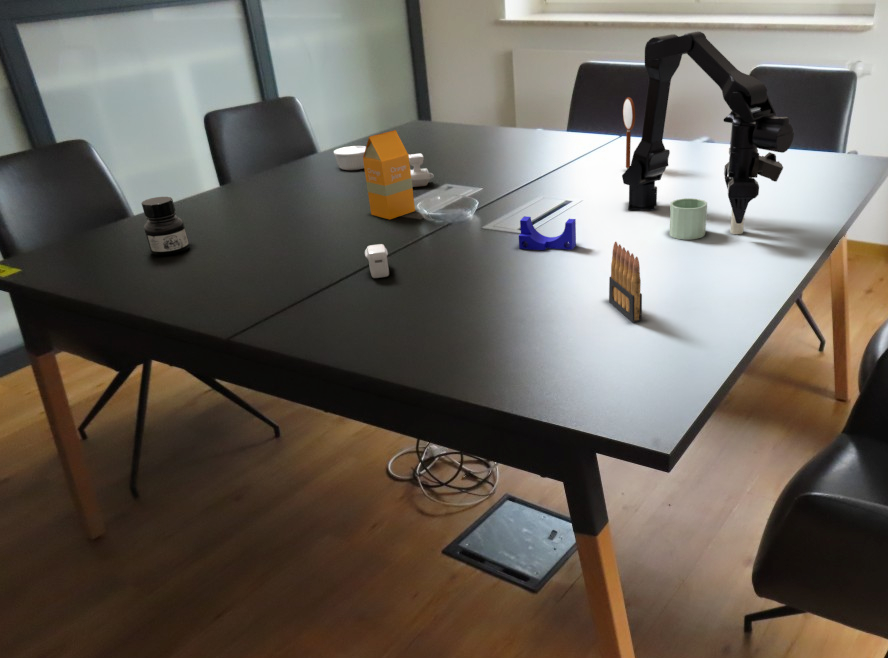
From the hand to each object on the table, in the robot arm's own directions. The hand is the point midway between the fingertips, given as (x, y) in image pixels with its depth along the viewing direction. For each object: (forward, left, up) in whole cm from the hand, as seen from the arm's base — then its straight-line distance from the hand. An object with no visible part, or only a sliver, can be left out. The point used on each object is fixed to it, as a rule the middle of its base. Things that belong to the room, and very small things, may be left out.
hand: (737, 216), depth 184 cm
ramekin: (-113, +64, -4) cm, 130 cm away
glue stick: (0, 0, -4) cm, 4 cm away
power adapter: (-77, -25, -4) cm, 81 cm away
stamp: (-86, +42, -4) cm, 96 cm away
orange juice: (-86, +16, -4) cm, 88 cm away
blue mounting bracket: (-42, -10, -4) cm, 43 cm away
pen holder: (-11, -1, -4) cm, 12 cm away
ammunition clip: (-23, -45, -4) cm, 51 cm away
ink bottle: (-133, -13, -4) cm, 134 cm away
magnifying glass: (-27, +55, -4) cm, 61 cm away
